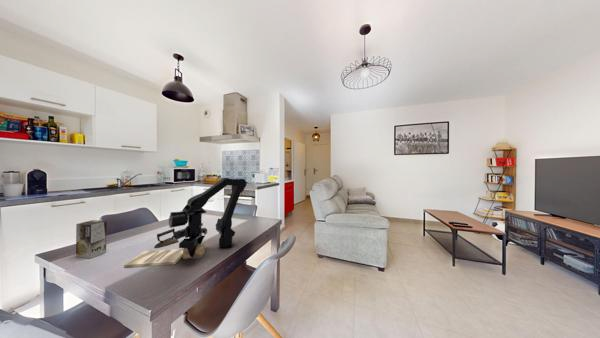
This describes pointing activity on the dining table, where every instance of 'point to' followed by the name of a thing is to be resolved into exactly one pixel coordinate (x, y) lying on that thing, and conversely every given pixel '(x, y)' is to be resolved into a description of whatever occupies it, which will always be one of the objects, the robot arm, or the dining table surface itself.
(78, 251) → the coffee box
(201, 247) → the block
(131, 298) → the dining table surface
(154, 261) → the birch board
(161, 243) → the clothes iron
